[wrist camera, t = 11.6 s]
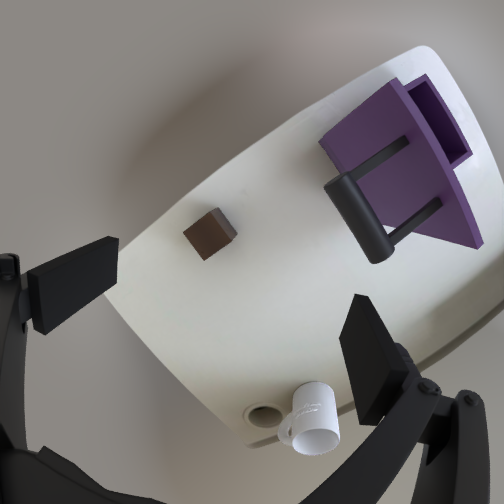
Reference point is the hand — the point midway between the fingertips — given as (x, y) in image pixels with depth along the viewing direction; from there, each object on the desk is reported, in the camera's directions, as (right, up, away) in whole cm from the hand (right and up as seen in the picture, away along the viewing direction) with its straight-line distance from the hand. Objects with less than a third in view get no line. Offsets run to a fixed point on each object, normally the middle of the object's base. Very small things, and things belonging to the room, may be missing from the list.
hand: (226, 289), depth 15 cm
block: (-4, +5, +30) cm, 31 cm away
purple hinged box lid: (+14, +9, +9) cm, 19 cm away
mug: (+12, -27, +37) cm, 47 cm away
